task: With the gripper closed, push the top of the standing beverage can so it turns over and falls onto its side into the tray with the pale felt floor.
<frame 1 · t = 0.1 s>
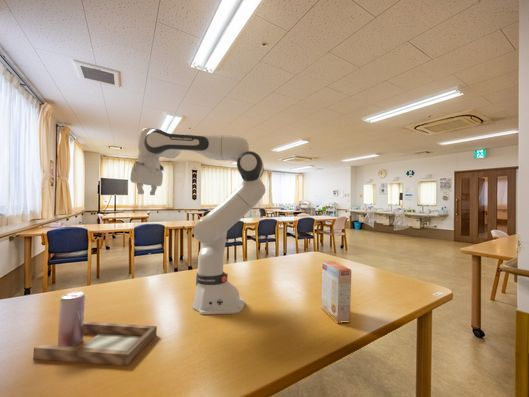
hand: (146, 194, 107), 48 cm above the table, fingers open, 8 cm apart
cracker box: (335, 315, 97), on the table
tray: (98, 345, 72), on the table
beverage can: (70, 344, 73), resting in tray
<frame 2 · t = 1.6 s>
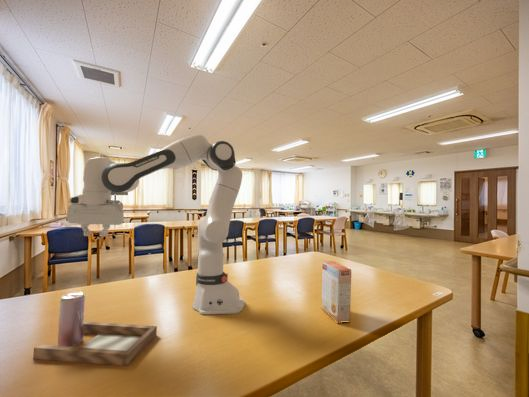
hand: (95, 236, 89), 31 cm above the table, fingers open, 5 cm apart
nothing on the table moved.
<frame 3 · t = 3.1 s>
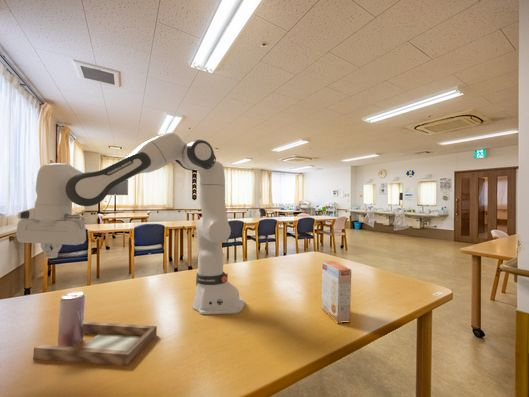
hand: (50, 257, 74), 26 cm above the table, fingers closed
nothing on the table moved.
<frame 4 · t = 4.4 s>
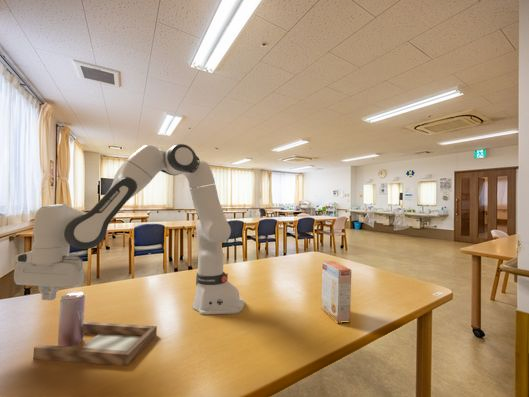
hand: (48, 299, 74), 13 cm above the table, fingers closed
nothing on the table moved.
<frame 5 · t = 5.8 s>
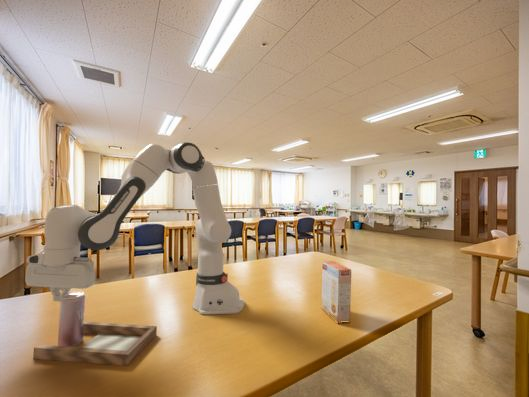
hand: (60, 300, 74), 13 cm above the table, fingers closed
beverage can: (70, 344, 73), resting in tray, touching gripper
everything else where it was.
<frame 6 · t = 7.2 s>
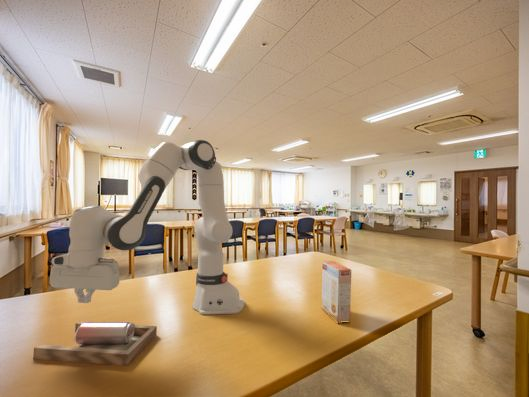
hand: (84, 302, 73), 13 cm above the table, fingers closed
beverage can: (79, 333, 73), point 3 cm above the table, touching tray
everything else where it was.
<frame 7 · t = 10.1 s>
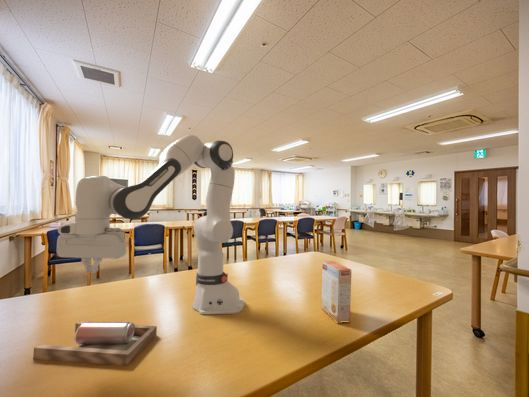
hand: (91, 271, 73), 22 cm above the table, fingers closed
nothing on the table moved.
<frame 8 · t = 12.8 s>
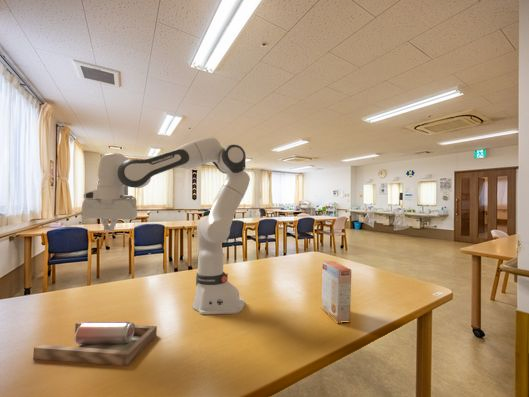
hand: (108, 230, 91), 33 cm above the table, fingers closed
nothing on the table moved.
at the end: beverage can tilted 90°; beverage can inside the target area (5.3 cm from its centre), point 3.3 cm above the table; the gripper is holding nothing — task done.
